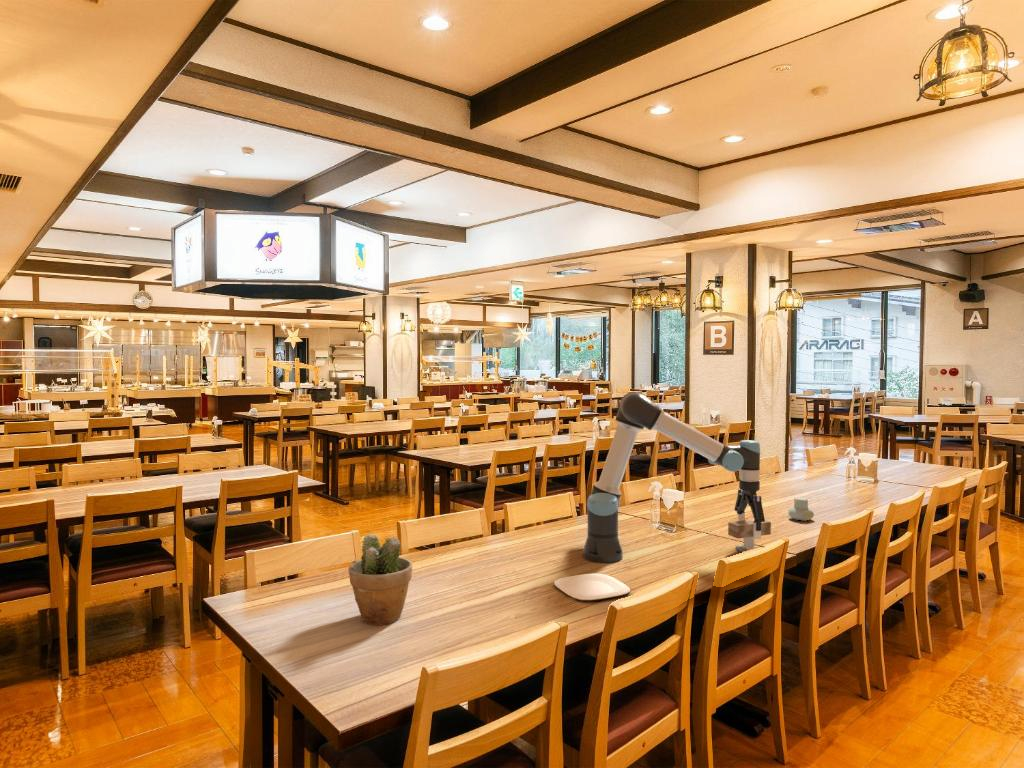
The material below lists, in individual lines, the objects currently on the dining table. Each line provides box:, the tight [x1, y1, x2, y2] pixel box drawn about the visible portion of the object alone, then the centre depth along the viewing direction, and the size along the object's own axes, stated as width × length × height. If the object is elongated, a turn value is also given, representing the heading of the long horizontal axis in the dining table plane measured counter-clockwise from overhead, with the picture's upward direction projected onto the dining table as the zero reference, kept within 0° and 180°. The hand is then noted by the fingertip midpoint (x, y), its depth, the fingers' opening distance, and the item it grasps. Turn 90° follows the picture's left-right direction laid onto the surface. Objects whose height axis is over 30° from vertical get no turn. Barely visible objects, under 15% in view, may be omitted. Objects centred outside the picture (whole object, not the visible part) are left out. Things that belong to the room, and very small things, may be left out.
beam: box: [727, 519, 772, 539], centre depth 248 cm, size 16×6×5 cm, turn 110°
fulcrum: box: [735, 537, 757, 553], centre depth 248 cm, size 7×8×6 cm
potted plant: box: [348, 534, 413, 626], centre depth 184 cm, size 18×19×25 cm
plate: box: [554, 573, 631, 602], centre depth 207 cm, size 22×22×2 cm
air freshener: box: [788, 497, 814, 522], centre depth 297 cm, size 11×8×10 cm
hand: (748, 534), depth 248 cm, fingers open, 12 cm apart
